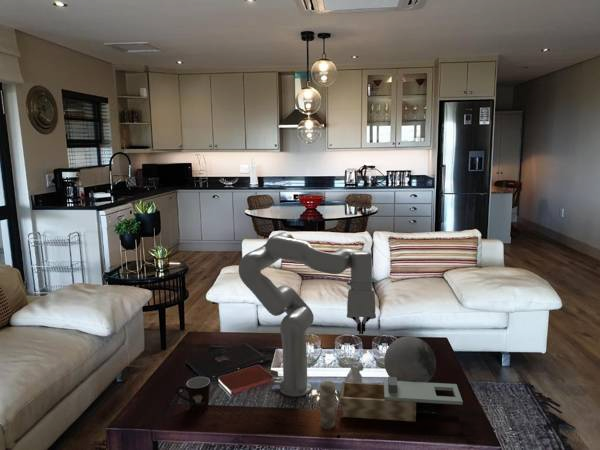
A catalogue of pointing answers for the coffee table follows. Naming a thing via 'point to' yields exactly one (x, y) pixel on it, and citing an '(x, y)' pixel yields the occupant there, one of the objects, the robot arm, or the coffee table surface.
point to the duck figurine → (355, 373)
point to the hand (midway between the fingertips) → (361, 332)
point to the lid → (419, 392)
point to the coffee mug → (197, 392)
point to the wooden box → (373, 403)
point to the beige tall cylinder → (327, 404)
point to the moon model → (410, 360)
